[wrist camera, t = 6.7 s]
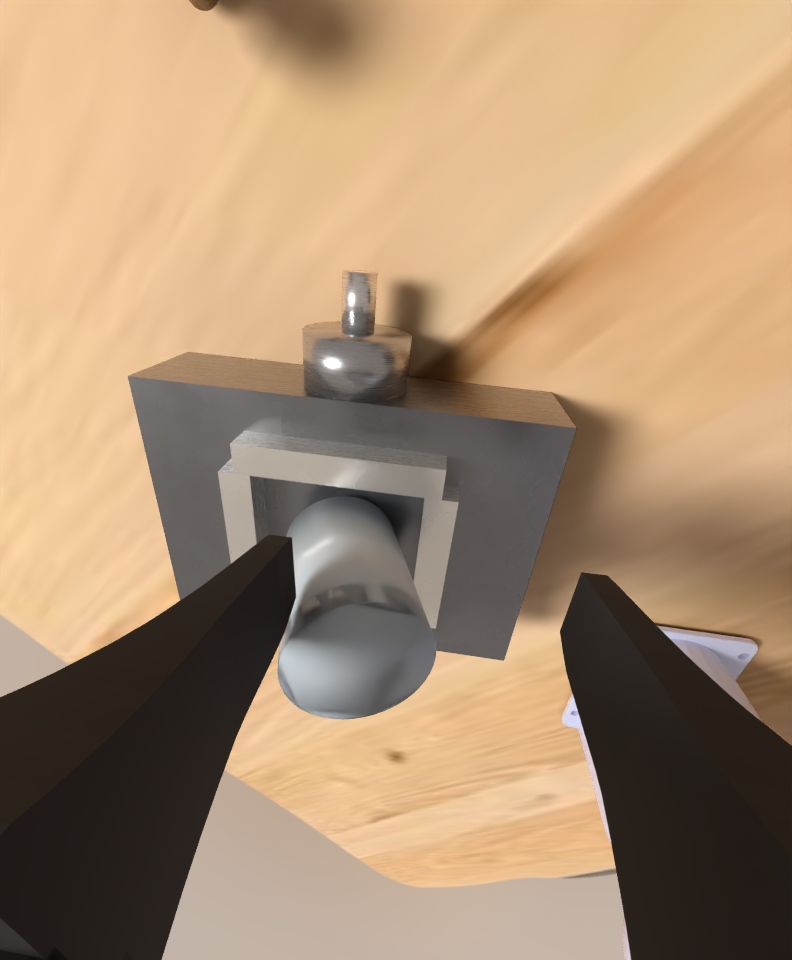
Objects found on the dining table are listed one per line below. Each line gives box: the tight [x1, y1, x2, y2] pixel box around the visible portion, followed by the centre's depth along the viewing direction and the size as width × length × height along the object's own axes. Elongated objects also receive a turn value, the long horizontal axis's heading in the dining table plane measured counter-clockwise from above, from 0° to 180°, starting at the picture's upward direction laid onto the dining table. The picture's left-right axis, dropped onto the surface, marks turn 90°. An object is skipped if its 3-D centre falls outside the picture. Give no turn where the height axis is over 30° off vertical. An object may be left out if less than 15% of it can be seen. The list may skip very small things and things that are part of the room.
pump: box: [278, 496, 436, 719], centre depth 14 cm, size 4×4×6 cm
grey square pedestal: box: [128, 270, 576, 660], centre depth 18 cm, size 16×16×5 cm
